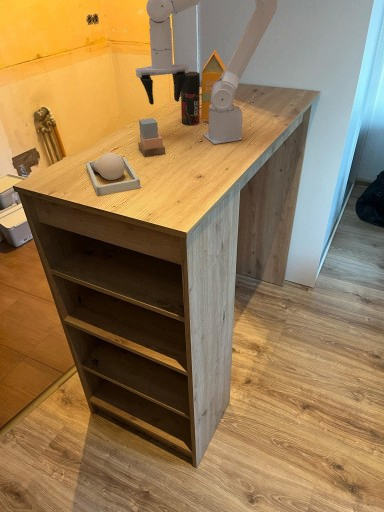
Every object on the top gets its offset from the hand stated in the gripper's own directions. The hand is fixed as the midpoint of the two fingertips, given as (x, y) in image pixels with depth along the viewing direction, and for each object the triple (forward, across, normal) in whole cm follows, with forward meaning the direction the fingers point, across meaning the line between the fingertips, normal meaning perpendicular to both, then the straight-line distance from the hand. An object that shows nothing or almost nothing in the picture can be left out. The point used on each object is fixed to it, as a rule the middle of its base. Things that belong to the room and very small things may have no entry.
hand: (164, 102), depth 107 cm
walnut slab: (+11, +7, +9) cm, 16 cm away
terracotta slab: (+8, +7, +9) cm, 14 cm away
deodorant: (+11, -12, -10) cm, 19 cm away
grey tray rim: (+10, +21, +21) cm, 31 cm away
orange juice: (+11, -22, -14) cm, 28 cm away
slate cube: (+6, +8, +9) cm, 13 cm away
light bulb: (+11, +22, +19) cm, 31 cm away
